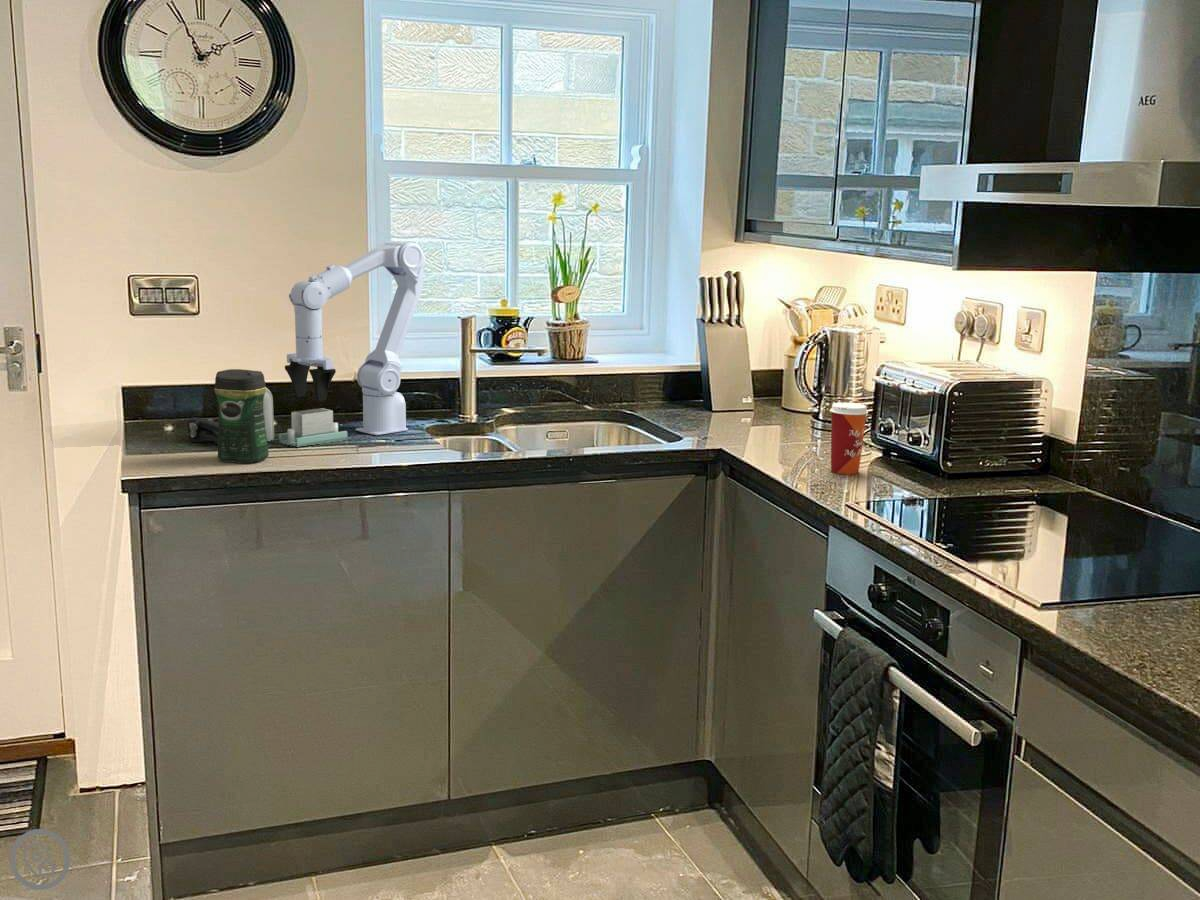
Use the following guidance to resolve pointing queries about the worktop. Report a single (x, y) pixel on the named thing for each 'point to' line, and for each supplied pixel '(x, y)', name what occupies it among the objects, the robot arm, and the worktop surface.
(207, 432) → the can opener
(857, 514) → the worktop surface
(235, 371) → the coffee jar
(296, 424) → the light grey rectangular block
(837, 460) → the paper cup
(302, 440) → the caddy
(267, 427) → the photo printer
